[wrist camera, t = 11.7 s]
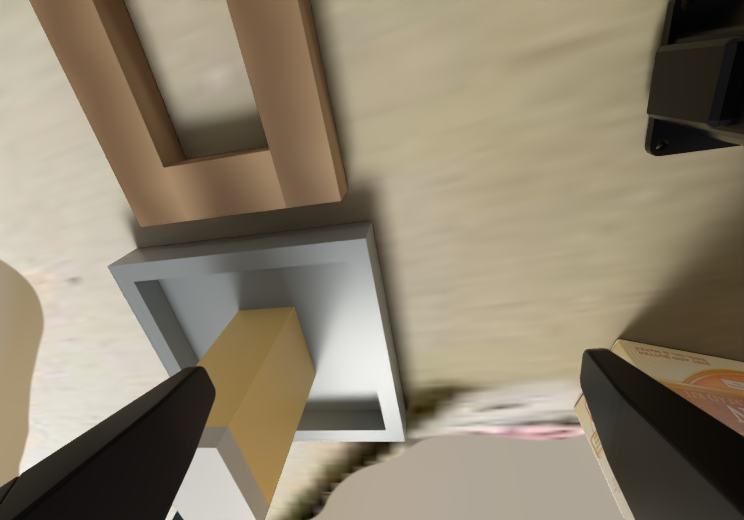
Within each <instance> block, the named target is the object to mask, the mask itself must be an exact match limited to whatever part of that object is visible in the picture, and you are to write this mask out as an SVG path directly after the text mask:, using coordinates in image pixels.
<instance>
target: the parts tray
mask: <svg viewBox="0 0 744 520" xmlns="http://www.w3.org/2000/svg"><path fill="white" fill-rule="evenodd" d="M107 267H108V268H109V270H110V272H111V274H112V275H113V277H114V279H115V281H116V282H117V284H118V286H119V288H120V290H121V291H122V293H123V295H124V297H125V298H126V300H127V302H128V304H129V305H130V307H131V309H132V311H133V313H134V314H135V316H136V318H137V320H138V321H139V323H140V325H141V327H142V328H143V330H144V332H145V334H146V335H147V337H148V339H149V341H150V343H151V344H152V346H153V348H154V350H155V351H156V353H157V355H158V357H159V358H160V360H161V362H162V364H163V366H164V367H165V369H166V371H167V373H168V374H169V376H170V377H171V376H173V375H174V374H176V373H178V372H179V371H181V370H182V369H184V368H186V367H189V366H196V365H197V364H198V362H199V361H200V360H201V359H202V357H203V356H204V355H205V353H206V352H207V351H208V350H209V348H210V347H211V346H212V344H213V343H214V342H215V341H216V339H217V338H218V337H219V335H220V334H221V333H222V332H223V330H224V329H225V328H226V326H227V325H228V324H229V323H230V321H231V320H232V319H233V317H234V316H235V315H236V314H237V312H238V311H241V310H254V309H267V308H281V307H295V310H296V313H297V317H298V320H299V323H300V326H301V329H302V332H303V335H304V338H305V342H306V345H307V348H308V351H309V354H310V357H311V360H312V363H313V366H314V370H315V373H316V376H315V379H314V382H313V385H312V388H311V390H310V393H309V396H308V399H307V402H306V405H305V407H304V410H303V413H302V416H301V419H300V422H299V424H298V427H297V430H296V433H295V436H294V439H293V441H405V431H406V408H405V402H404V397H403V391H402V386H401V380H400V375H399V369H398V364H397V358H396V353H395V347H394V342H393V336H392V331H391V325H390V320H389V314H388V309H387V303H386V298H385V292H384V287H383V281H382V276H381V270H380V265H379V259H378V254H377V248H376V243H375V237H374V232H373V226H372V221H367V222H359V223H350V224H342V225H333V226H325V227H316V228H308V229H299V230H291V231H282V232H274V233H265V234H257V235H248V236H240V237H231V238H223V239H214V240H206V241H197V242H189V243H180V244H172V245H163V246H155V247H146V248H138V249H135V250H134V251H132V252H130V253H129V254H127V255H125V256H124V257H122V258H121V259H119V260H117V261H116V262H114V263H112V264H111V265H109V266H107Z"/></svg>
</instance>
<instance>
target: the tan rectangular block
mask: <svg viewBox="0 0 744 520" xmlns="http://www.w3.org/2000/svg"><path fill="white" fill-rule="evenodd" d="M196 366H203V367H204V368H205V369H206V371H207V373H208V375H209V377H210V379H211V381H212V383H213V385H214V387H215V390H216V397H215V400H214V403H213V406H212V409H211V411H210V414H209V417H208V420H207V422H206V425H205V428H204V431H203V434H202V436H201V439H200V442H199V445H198V447H197V450H196V453H195V455H194V458H193V460H192V462H191V465H190V467H189V469H188V471H187V473H186V476H185V478H184V480H183V482H182V484H181V486H180V489H179V491H178V493H177V495H176V497H175V499H174V501H173V505H174V507H175V508H176V510H177V511H178V512H179V514H180V515H181V517H182V518H183V519H184V520H265V518H266V515H267V512H268V509H269V507H270V504H271V501H272V498H273V495H274V492H275V490H276V487H277V484H278V481H279V478H280V475H281V473H282V470H283V467H284V464H285V461H286V458H287V456H288V453H289V450H290V447H291V444H292V441H293V439H294V436H295V433H296V430H297V427H298V424H299V422H300V419H301V416H302V413H303V410H304V407H305V405H306V402H307V399H308V396H309V393H310V390H311V388H312V385H313V382H314V379H315V376H316V373H315V370H314V366H313V363H312V360H311V357H310V354H309V351H308V348H307V345H306V342H305V338H304V335H303V332H302V329H301V326H300V323H299V320H298V317H297V313H296V310H295V307H281V308H267V309H254V310H241V311H238V312H237V314H236V315H235V316H234V317H233V319H232V320H231V321H230V323H229V324H228V325H227V326H226V328H225V329H224V330H223V332H222V333H221V334H220V335H219V337H218V338H217V339H216V341H215V342H214V343H213V344H212V346H211V347H210V348H209V350H208V351H207V352H206V353H205V355H204V356H203V357H202V359H201V360H200V361H199V362H198V364H197V365H196Z"/></svg>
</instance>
